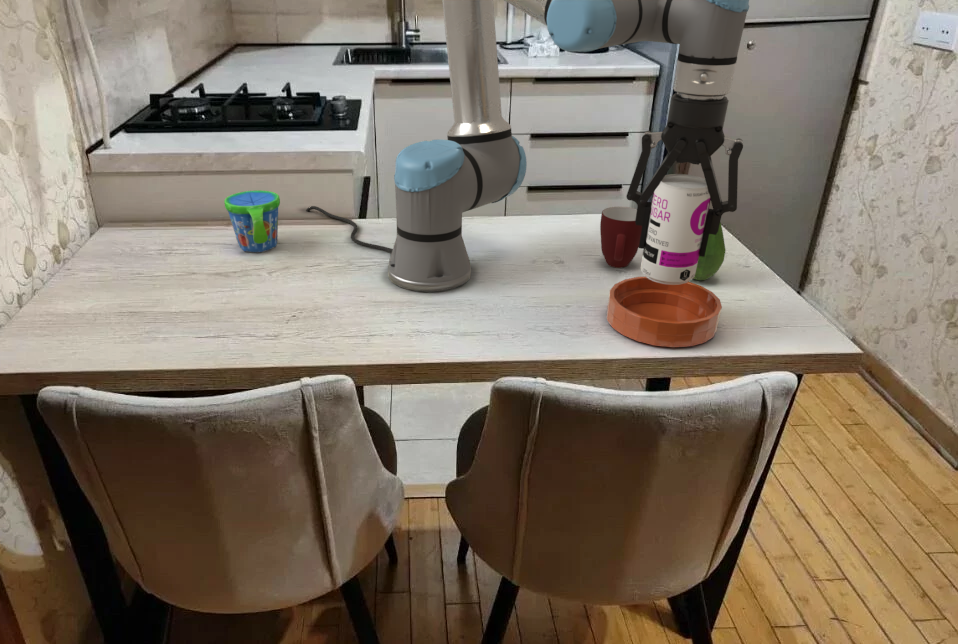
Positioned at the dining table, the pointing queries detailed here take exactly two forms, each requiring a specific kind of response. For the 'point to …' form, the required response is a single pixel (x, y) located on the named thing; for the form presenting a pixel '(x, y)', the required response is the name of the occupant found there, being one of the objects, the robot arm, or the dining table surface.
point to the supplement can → (675, 229)
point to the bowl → (663, 312)
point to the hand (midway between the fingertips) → (671, 249)
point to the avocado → (711, 256)
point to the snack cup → (254, 219)
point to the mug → (619, 235)
